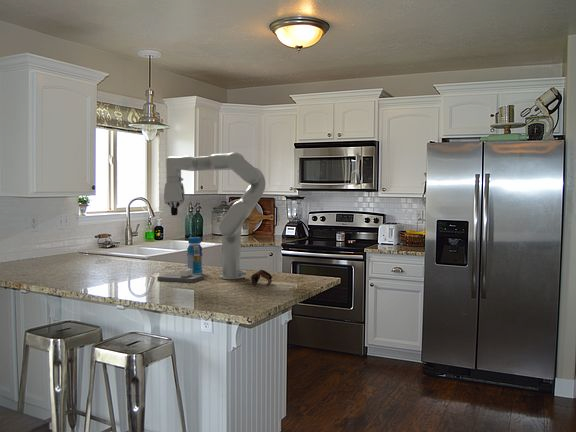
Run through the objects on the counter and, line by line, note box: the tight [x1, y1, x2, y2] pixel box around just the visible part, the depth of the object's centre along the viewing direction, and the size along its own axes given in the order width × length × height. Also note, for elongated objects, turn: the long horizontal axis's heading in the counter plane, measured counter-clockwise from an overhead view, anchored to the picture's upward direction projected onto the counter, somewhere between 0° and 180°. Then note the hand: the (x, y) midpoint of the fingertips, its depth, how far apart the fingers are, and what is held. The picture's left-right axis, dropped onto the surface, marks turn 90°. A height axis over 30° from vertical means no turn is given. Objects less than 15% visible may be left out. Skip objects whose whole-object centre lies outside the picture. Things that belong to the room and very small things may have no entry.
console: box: [157, 272, 205, 284], centre depth 266 cm, size 20×12×2 cm, turn 72°
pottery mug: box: [250, 269, 273, 286], centre depth 253 cm, size 12×10×8 cm
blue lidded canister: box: [186, 236, 204, 275], centre depth 285 cm, size 8×8×20 cm
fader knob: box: [179, 267, 192, 277], centre depth 265 cm, size 4×6×4 cm, turn 162°
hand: (174, 215), depth 274 cm, fingers closed
